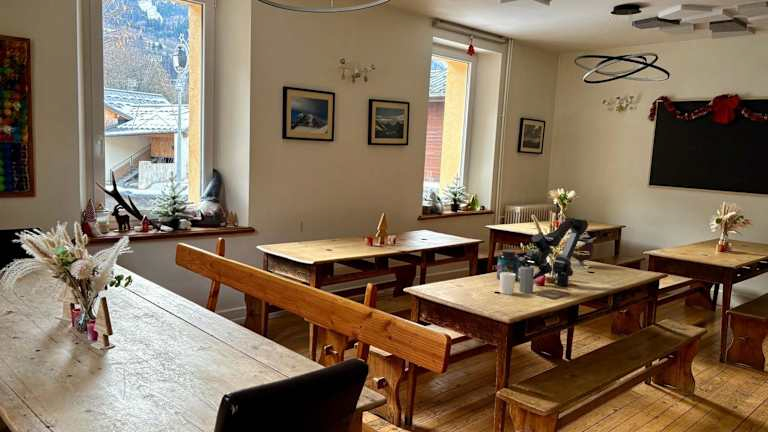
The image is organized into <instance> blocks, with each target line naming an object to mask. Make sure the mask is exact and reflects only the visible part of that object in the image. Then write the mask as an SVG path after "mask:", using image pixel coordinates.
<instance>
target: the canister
mask: <svg viewBox="0 0 768 432" xmlns="http://www.w3.org/2000/svg"><path fill="white" fill-rule="evenodd" d="M520 268H521V272H520V271H519V272H520V275H519V292H520V293H523V294H532V293H534V280H535V279H533V277H534V275H535V269H534V268H535V267H533V266H529V267H521V266H520Z"/></svg>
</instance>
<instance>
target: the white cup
mask: <svg viewBox="0 0 768 432" xmlns="http://www.w3.org/2000/svg"><path fill="white" fill-rule="evenodd" d="M515 278H516V274H514V273H510V272H501V273H500V279H499V293H500V294H502V295H508V296H509V295H510V296H511V295H514V292H515V285H516V281H515Z"/></svg>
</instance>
